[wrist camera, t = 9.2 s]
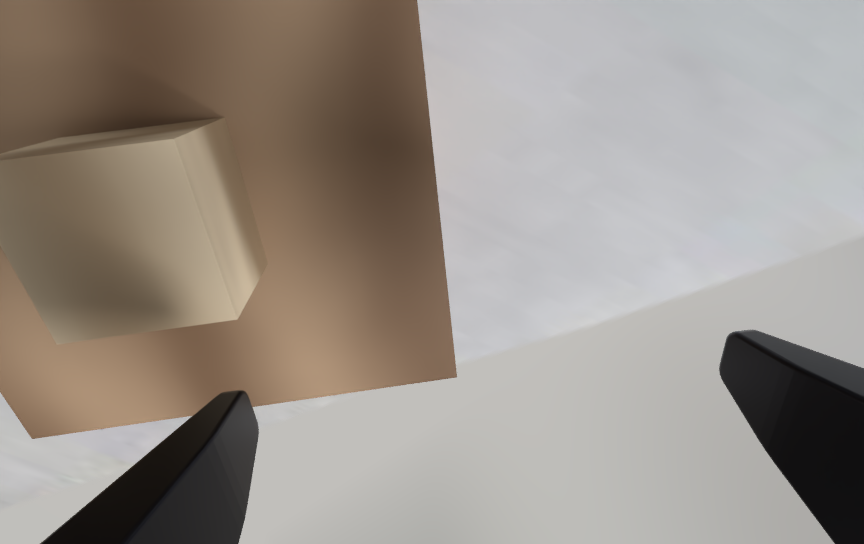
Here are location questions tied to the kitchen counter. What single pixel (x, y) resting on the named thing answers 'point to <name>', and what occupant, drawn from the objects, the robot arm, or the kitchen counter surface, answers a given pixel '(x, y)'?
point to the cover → (213, 207)
